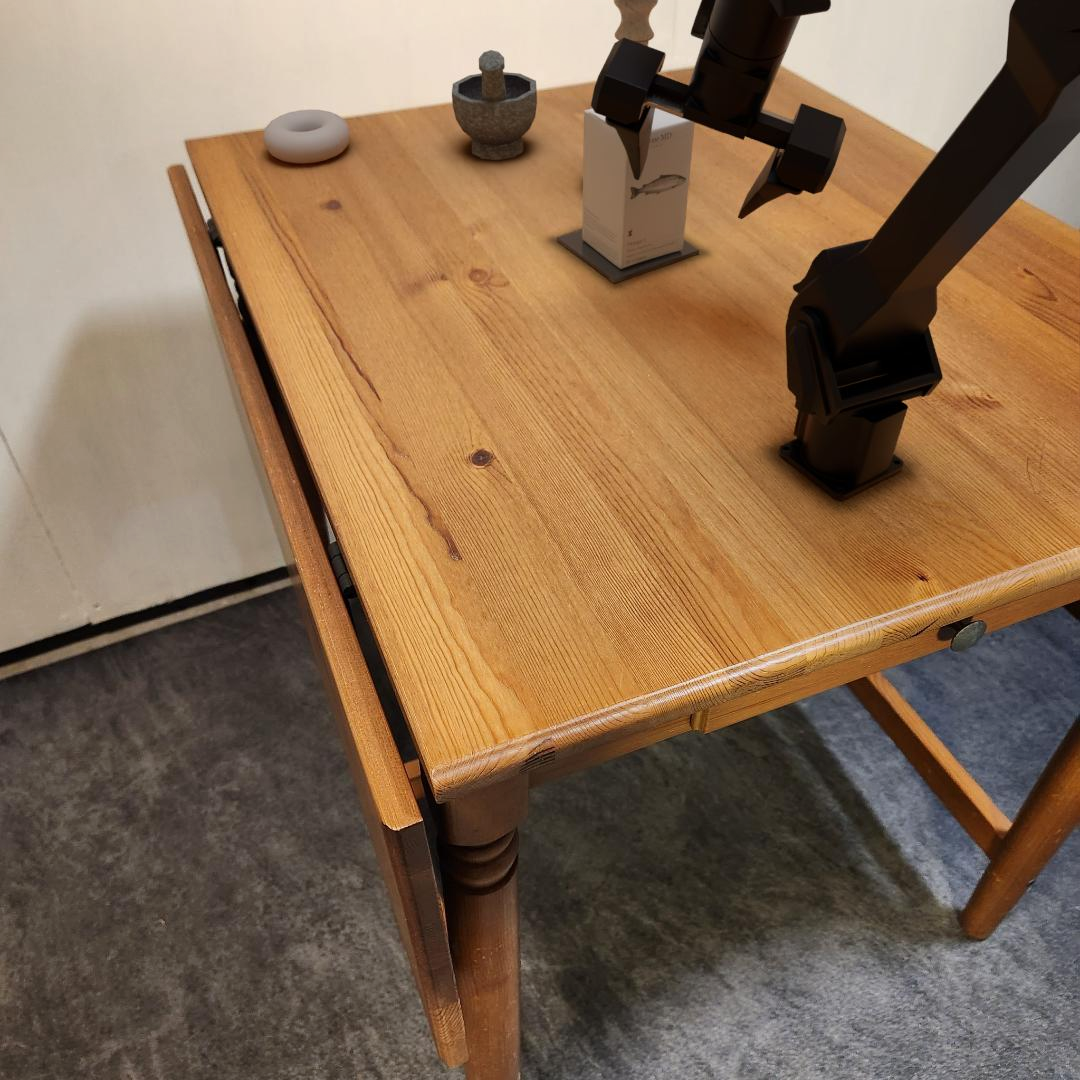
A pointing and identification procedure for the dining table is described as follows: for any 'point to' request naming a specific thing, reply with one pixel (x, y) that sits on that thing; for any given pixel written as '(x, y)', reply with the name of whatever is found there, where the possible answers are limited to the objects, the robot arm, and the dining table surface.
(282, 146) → the donut
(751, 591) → the dining table surface
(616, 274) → the slate coaster
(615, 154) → the white packaging box
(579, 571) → the dining table surface
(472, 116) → the mortar and pestle
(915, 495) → the dining table surface
